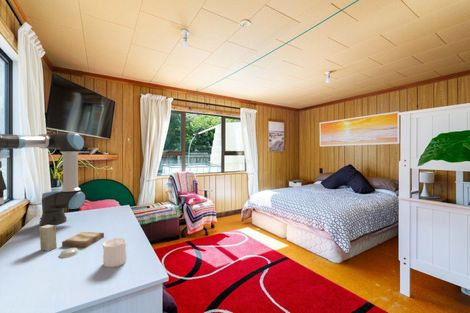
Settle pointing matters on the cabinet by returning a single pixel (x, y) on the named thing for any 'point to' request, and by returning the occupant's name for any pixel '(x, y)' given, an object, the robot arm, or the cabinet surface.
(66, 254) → the trinket dish
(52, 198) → the robot arm
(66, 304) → the cabinet surface
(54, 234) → the skincare box
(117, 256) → the cup
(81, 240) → the tan square flat tray
